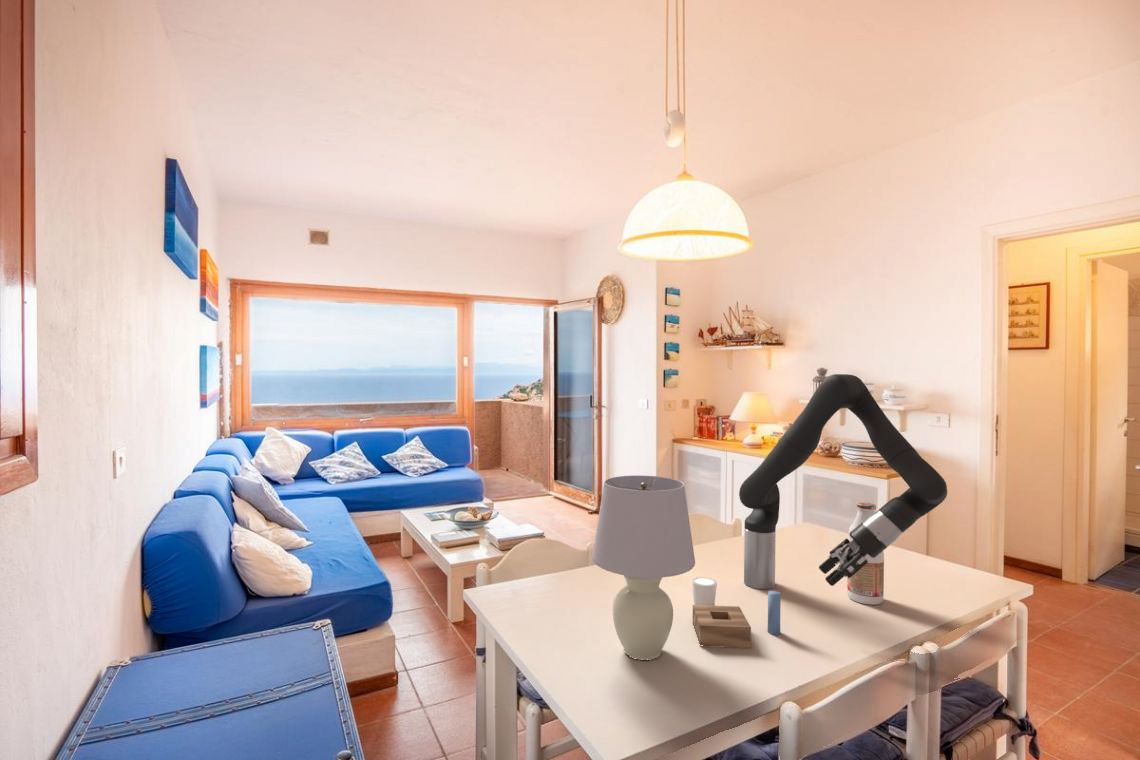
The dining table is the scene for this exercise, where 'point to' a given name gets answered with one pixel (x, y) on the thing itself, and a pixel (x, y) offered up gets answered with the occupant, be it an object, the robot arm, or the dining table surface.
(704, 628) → the hole block
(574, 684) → the dining table surface
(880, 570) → the fruit juice
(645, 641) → the lamp
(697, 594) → the white cup
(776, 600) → the peg
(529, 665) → the dining table surface
